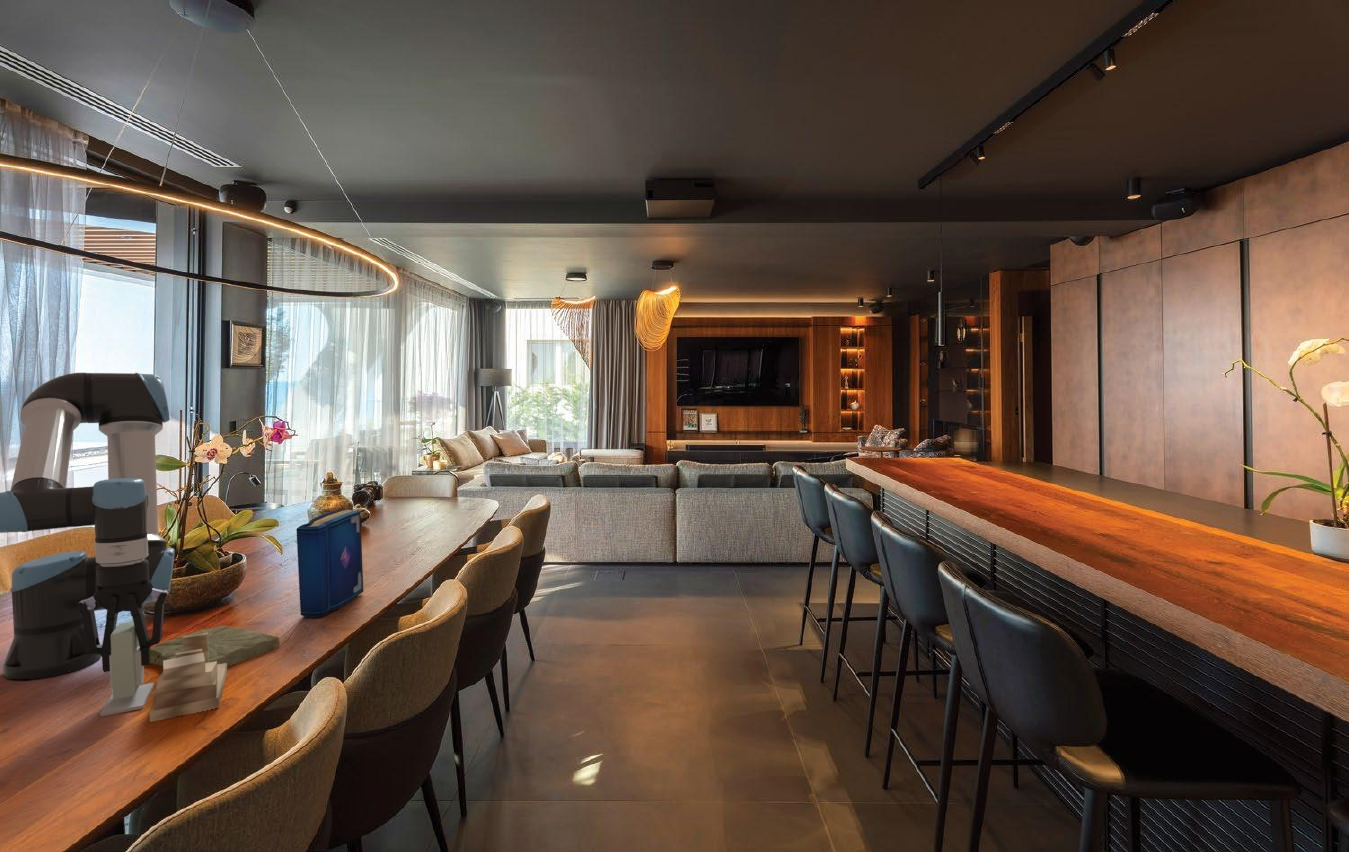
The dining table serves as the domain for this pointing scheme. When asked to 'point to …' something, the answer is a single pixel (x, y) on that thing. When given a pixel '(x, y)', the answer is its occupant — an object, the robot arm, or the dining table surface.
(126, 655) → the pale green block
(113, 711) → the felt mat
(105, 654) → the robot arm
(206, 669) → the block
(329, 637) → the dining table surface
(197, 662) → the offcut top
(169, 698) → the offcut bottom
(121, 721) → the dining table surface
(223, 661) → the decorative tile
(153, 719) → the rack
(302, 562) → the book
